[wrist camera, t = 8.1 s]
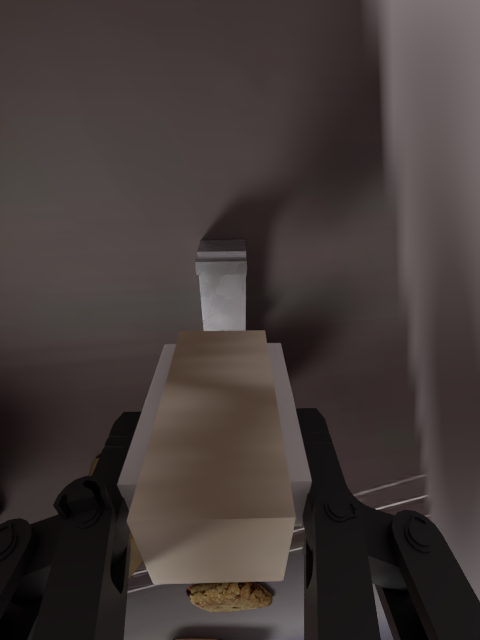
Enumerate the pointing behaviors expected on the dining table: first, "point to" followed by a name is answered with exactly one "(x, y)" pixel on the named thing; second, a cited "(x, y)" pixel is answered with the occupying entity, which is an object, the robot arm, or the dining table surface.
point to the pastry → (229, 596)
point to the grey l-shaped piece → (222, 284)
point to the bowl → (196, 639)
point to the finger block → (215, 467)
